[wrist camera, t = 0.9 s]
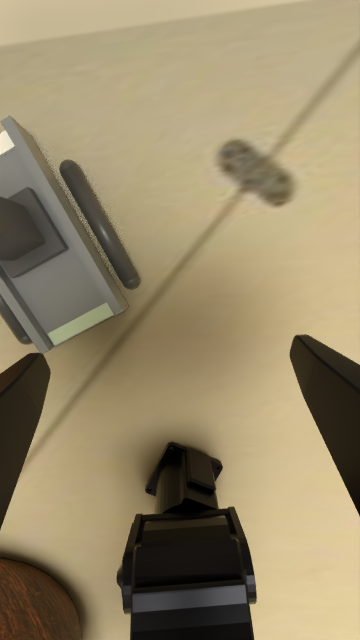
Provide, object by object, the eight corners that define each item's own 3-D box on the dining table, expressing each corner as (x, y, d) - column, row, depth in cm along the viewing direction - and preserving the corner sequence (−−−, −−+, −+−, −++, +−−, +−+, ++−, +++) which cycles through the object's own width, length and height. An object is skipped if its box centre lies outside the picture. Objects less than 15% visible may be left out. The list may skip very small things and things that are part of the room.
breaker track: (150, 294, 24) (147, 298, 21) (36, 354, 25) (18, 366, 22) (55, 122, 21) (37, 98, 18) (-71, 197, 22) (-108, 186, 19)
